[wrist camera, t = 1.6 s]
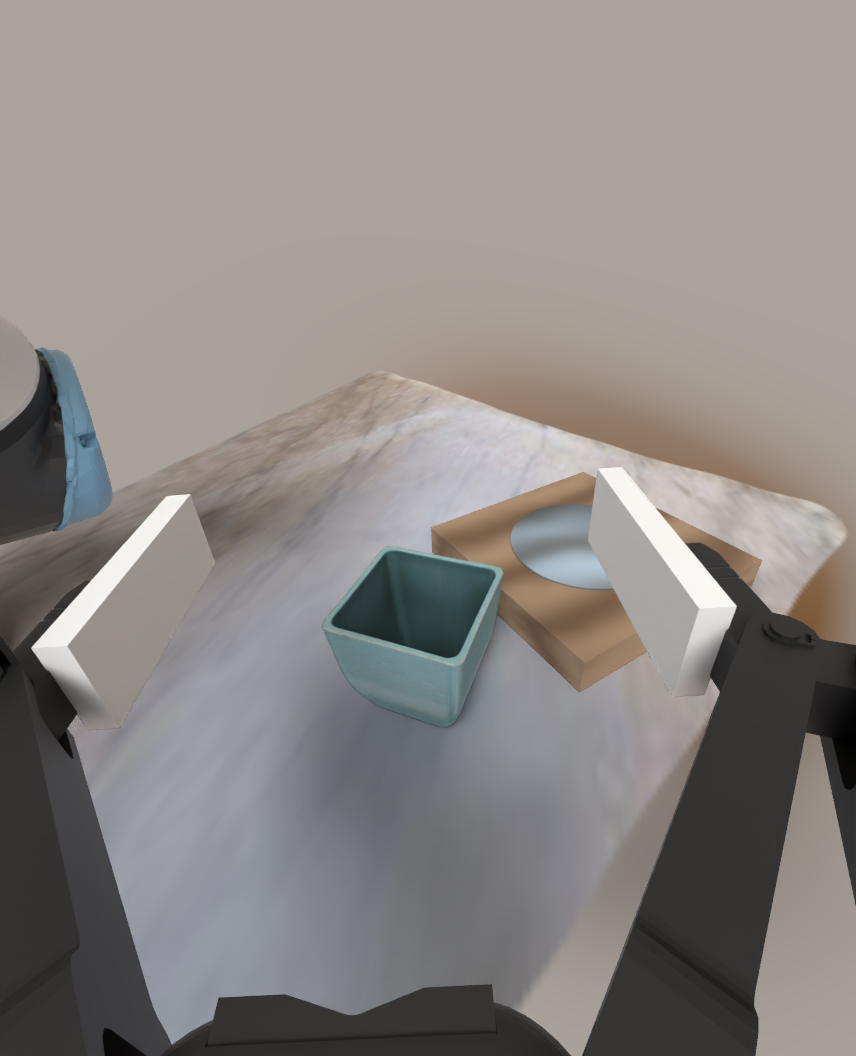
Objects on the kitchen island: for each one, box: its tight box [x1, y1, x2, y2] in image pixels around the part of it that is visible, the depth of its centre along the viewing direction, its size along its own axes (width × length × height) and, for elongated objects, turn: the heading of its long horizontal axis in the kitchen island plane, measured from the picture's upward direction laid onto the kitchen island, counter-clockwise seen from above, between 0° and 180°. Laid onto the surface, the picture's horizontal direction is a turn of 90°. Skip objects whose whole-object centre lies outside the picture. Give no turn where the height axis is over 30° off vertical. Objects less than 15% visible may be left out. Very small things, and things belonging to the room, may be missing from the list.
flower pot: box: [322, 546, 503, 727], centre depth 33 cm, size 9×9×9 cm
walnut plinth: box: [431, 472, 762, 692], centre depth 45 cm, size 20×20×3 cm
